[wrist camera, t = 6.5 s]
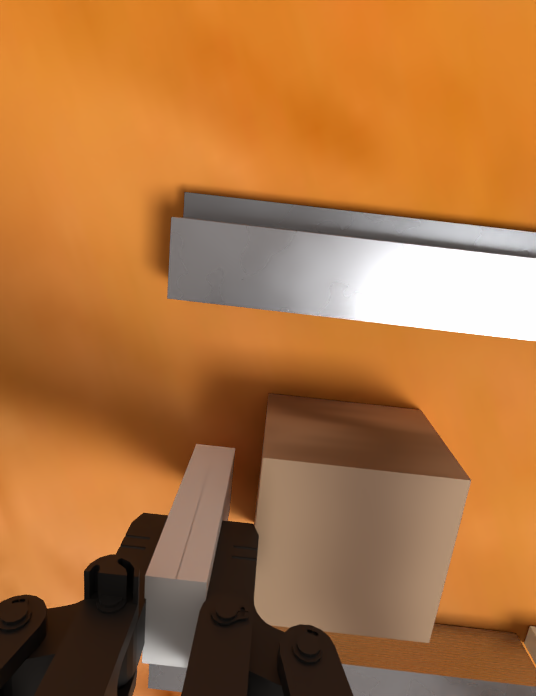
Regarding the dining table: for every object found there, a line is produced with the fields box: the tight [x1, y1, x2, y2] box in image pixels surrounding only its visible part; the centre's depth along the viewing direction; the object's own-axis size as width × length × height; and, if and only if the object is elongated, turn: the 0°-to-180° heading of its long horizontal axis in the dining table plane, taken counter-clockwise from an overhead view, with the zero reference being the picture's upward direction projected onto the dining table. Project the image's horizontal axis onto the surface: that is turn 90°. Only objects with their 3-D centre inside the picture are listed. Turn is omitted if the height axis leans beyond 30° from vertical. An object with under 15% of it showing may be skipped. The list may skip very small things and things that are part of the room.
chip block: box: [254, 393, 471, 643], centre depth 16 cm, size 6×6×5 cm
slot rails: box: [148, 192, 536, 696], centre depth 18 cm, size 16×21×2 cm
